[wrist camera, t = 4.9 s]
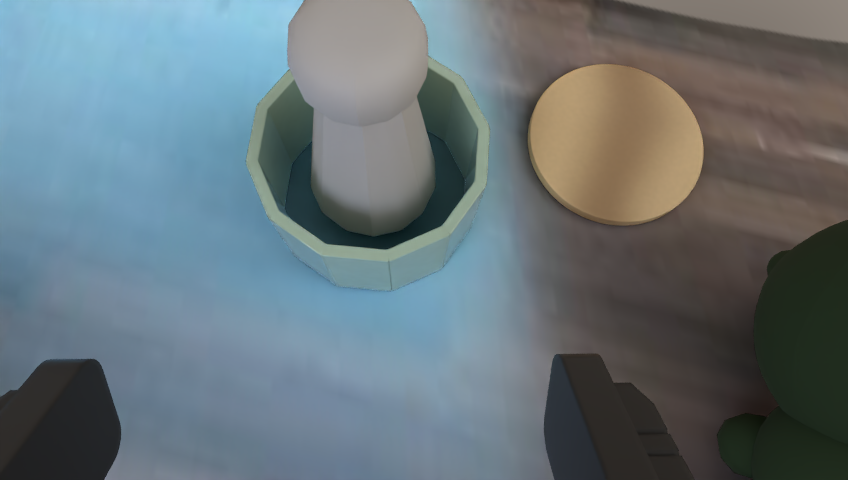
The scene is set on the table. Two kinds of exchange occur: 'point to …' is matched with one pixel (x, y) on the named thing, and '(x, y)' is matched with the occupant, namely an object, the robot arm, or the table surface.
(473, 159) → the cup
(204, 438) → the table surface
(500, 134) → the table surface
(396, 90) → the salt shaker
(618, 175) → the coaster
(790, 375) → the toy figurine
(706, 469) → the table surface
